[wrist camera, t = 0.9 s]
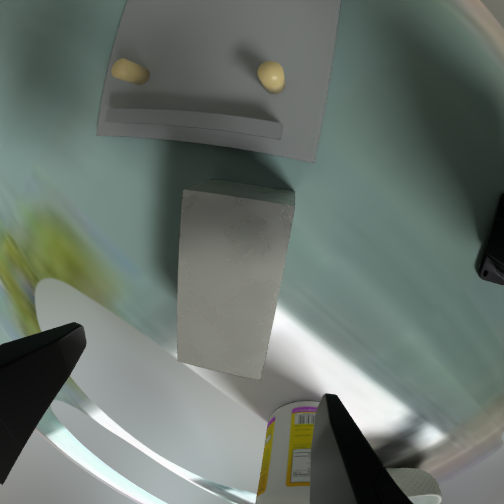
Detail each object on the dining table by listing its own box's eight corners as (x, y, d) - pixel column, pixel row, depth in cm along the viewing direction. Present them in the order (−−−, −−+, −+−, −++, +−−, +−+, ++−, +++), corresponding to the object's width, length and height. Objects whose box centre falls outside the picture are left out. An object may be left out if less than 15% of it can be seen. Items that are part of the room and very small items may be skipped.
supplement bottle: (291, 444, 25) (279, 554, 13) (254, 411, 23) (226, 538, 11) (352, 424, 23) (360, 544, 11) (321, 387, 21) (321, 533, 9)
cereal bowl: (425, 431, 22) (439, 481, 16) (436, 474, 26) (444, 510, 19) (288, 474, 27) (283, 521, 21) (334, 507, 31) (333, 542, 24)
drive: (295, 191, 17) (295, 206, 12) (268, 332, 20) (260, 380, 16) (213, 178, 17) (183, 189, 13) (201, 318, 21) (177, 360, 16)
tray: (344, -44, 10) (350, -71, 7) (313, 162, 16) (317, 165, 13) (154, -47, 11) (134, -67, 8) (104, 135, 17) (72, 135, 14)
